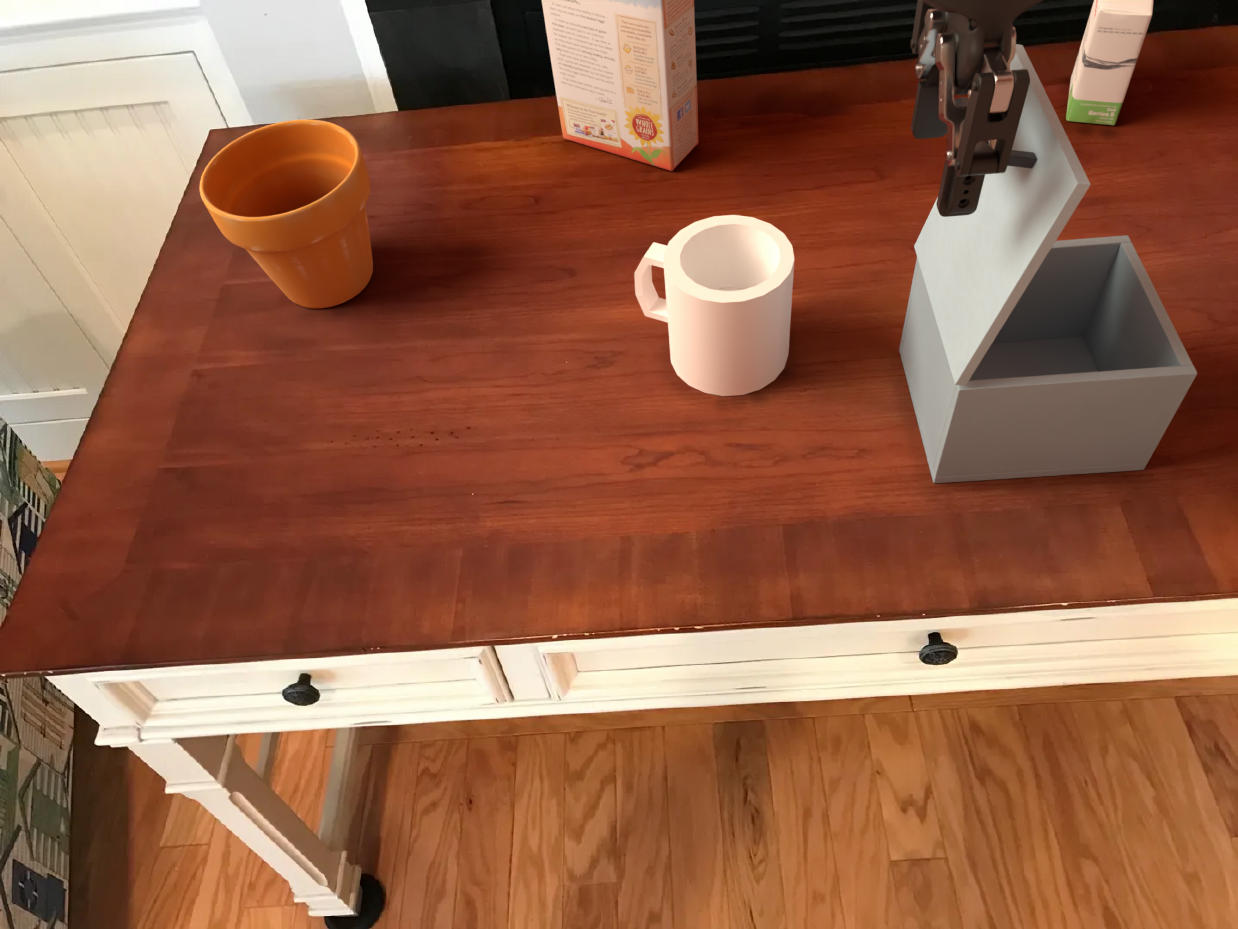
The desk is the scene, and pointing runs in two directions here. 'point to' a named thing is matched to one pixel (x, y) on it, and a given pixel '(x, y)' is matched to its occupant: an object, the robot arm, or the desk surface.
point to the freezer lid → (1000, 232)
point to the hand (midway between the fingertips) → (941, 171)
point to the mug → (723, 302)
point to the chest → (1053, 373)
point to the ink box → (1107, 59)
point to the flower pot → (296, 207)
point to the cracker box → (626, 76)
